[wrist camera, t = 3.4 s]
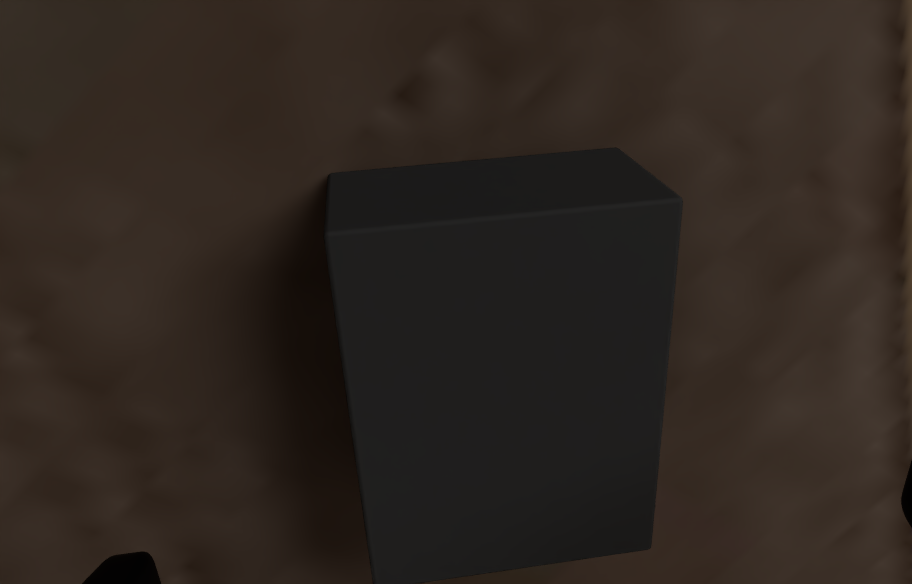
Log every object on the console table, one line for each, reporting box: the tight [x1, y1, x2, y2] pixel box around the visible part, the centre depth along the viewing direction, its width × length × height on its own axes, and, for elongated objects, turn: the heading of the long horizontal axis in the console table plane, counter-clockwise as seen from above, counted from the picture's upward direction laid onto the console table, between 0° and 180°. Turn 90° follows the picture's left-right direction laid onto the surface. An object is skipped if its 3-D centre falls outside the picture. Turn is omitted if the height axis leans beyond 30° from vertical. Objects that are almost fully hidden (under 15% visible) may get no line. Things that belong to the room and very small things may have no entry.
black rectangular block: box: [324, 148, 683, 584], centre depth 11 cm, size 6×4×2 cm
